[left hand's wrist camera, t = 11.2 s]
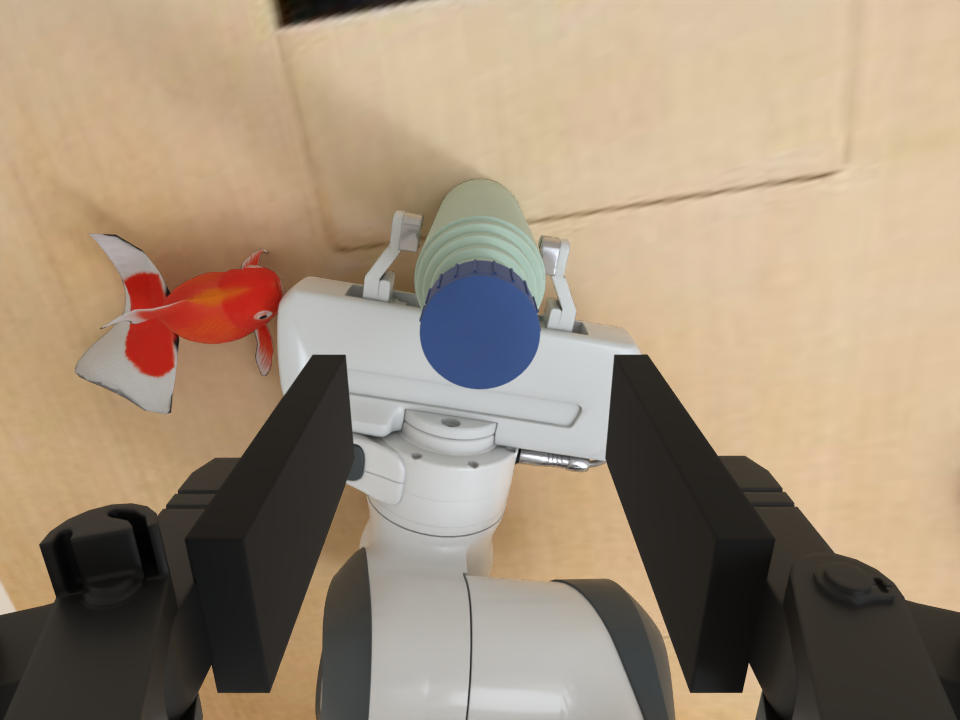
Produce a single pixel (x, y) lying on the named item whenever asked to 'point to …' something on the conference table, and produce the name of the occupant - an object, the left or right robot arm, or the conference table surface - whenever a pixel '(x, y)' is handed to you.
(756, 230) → the conference table surface
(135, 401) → the fish
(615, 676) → the right robot arm
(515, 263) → the bottle
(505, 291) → the cap
